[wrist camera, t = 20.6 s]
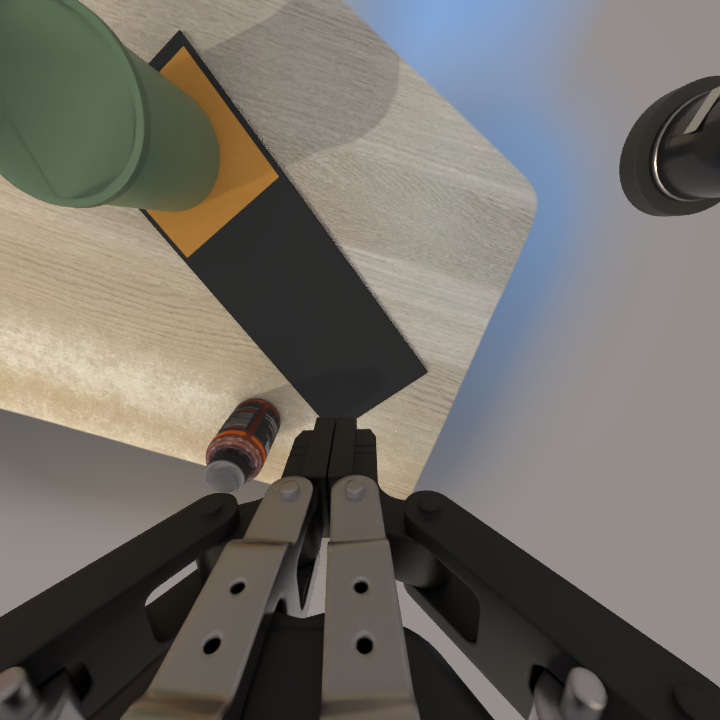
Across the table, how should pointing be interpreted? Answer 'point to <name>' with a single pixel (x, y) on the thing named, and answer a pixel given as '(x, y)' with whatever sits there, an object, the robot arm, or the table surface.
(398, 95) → the table surface
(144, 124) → the bucket
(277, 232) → the runner
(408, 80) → the table surface
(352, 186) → the table surface
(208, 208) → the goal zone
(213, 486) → the supplement bottle
